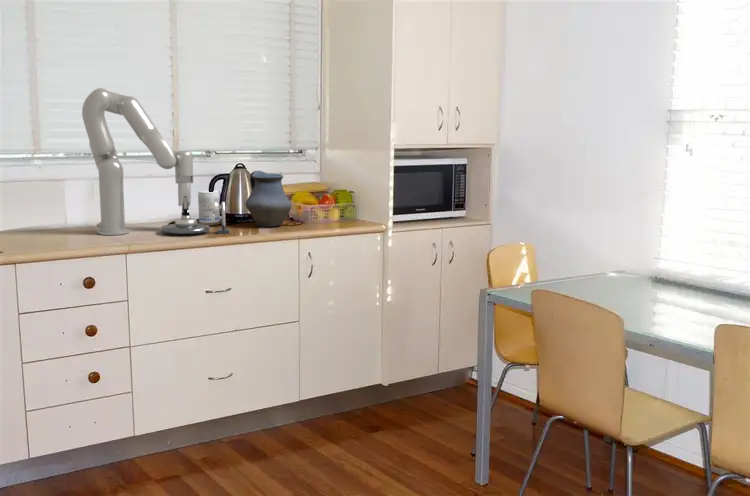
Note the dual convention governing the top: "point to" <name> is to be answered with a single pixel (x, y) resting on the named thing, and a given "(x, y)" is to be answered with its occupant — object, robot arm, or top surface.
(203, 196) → the supplement tub
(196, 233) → the turntable base
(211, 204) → the dial indicator
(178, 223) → the cast cover
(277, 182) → the pitcher
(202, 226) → the turntable
